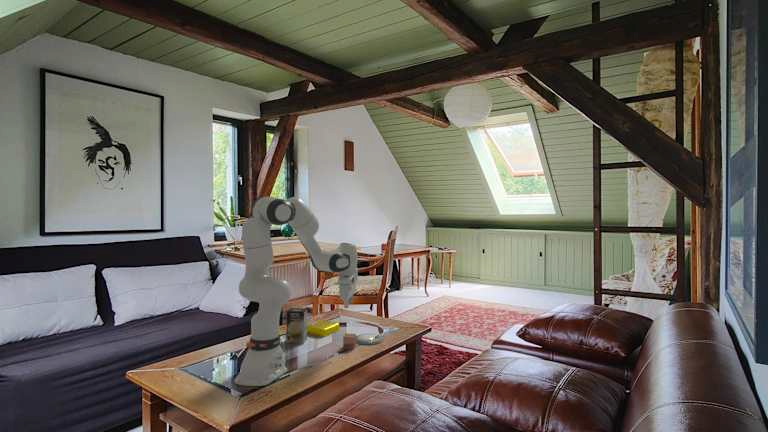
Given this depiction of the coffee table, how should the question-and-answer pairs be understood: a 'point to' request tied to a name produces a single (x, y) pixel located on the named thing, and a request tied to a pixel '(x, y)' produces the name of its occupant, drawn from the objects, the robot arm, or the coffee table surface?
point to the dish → (367, 339)
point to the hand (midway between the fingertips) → (348, 305)
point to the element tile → (322, 327)
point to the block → (349, 341)
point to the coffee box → (296, 325)
